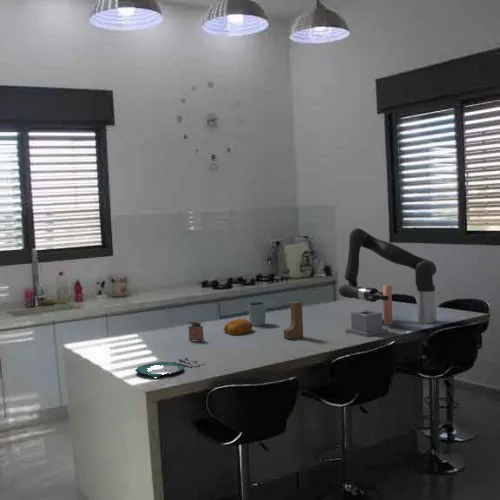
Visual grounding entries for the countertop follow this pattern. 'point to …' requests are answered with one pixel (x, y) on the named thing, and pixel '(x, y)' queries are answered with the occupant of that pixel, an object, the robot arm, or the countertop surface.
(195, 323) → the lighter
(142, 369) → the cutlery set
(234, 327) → the bread loaf
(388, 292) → the peg
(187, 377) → the countertop surface
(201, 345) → the countertop surface
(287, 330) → the wooden block
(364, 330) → the block
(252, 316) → the drinking glass
